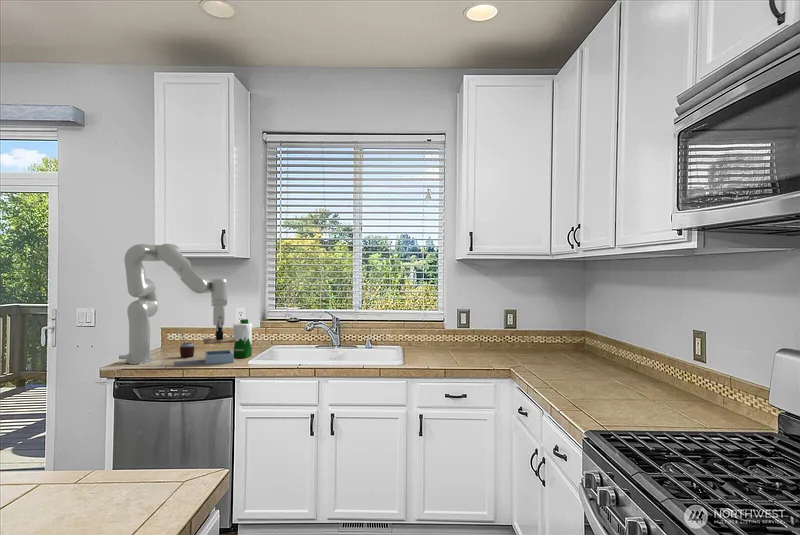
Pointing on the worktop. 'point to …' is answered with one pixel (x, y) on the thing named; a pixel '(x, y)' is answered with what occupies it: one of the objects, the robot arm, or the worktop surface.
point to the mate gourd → (186, 349)
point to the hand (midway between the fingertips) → (219, 338)
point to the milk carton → (243, 339)
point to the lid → (215, 341)
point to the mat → (189, 362)
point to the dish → (219, 357)
